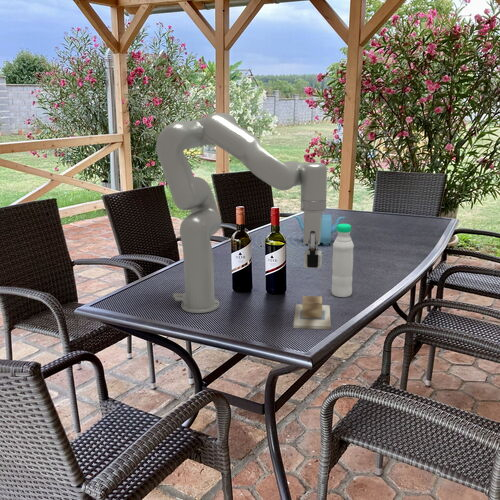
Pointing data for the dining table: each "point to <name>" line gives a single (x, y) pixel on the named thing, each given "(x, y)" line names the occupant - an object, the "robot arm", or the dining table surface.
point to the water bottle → (342, 262)
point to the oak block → (312, 307)
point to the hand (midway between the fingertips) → (312, 263)
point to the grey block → (318, 258)
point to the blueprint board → (312, 319)
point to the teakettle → (324, 228)
